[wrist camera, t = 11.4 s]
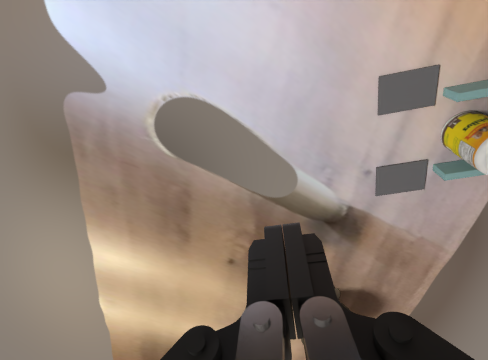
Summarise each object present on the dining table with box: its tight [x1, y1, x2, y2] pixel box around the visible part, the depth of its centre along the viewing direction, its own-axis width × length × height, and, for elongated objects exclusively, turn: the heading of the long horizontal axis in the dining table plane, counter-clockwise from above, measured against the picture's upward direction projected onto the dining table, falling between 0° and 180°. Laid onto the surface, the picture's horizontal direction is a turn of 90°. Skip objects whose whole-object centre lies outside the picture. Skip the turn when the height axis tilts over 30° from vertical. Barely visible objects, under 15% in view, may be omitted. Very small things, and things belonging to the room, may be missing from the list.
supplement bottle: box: [441, 111, 488, 175], centre depth 34 cm, size 6×6×10 cm
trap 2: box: [378, 65, 440, 115], centre depth 36 cm, size 5×7×1 cm
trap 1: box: [376, 159, 428, 196], centre depth 42 cm, size 5×7×1 cm
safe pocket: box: [433, 80, 488, 181], centre depth 37 cm, size 12×8×3 cm, turn 12°
